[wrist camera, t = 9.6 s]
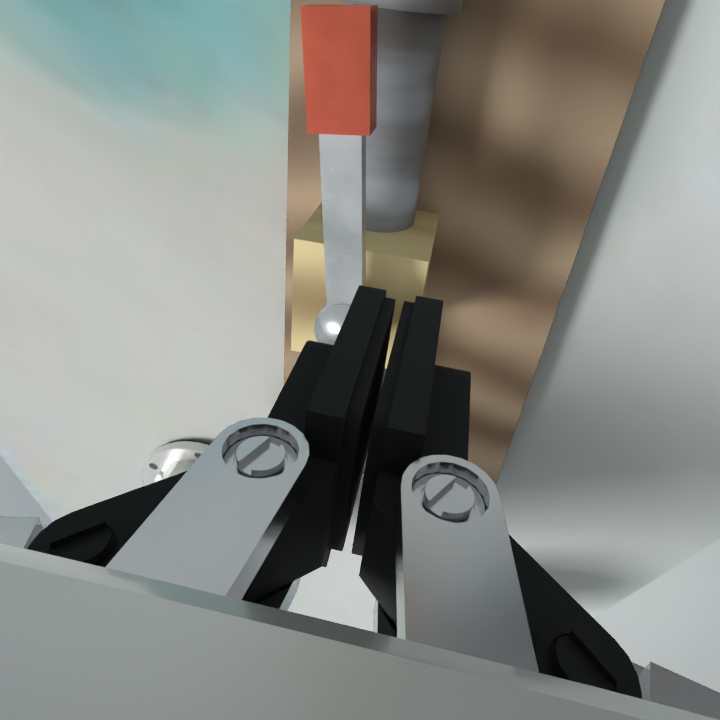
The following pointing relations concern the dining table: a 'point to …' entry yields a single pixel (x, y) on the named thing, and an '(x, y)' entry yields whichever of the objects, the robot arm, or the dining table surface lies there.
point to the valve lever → (341, 142)
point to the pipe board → (473, 177)
